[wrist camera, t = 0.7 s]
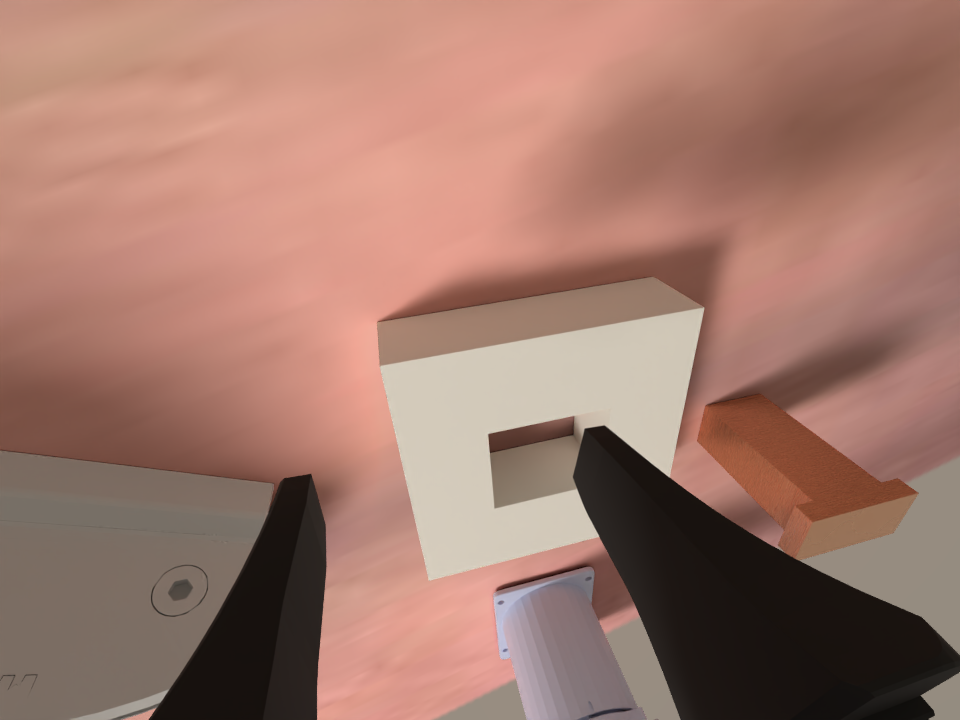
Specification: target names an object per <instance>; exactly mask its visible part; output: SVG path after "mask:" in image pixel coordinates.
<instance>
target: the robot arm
mask: <svg viewBox="0 0 960 720" xmlns="http://www.w3.org/2000/svg"><path fill="white" fill-rule="evenodd" d="M573 479H574V482H575V485H576V487H577V490H578V493H579V495H580V498H581V500H582V503H583V505H584V508H585V510H586V512H587V514H588V516H589V518H590V520H591V522H592V524H593V526H594V528H595V530H596V531H597V533H598V535H599V537H600V539H601V541H602V543H603V544H604V546H605V548H606V550H607V552H608V554H609V555H610V557H611V559H612V561H613V563H614V565H615V567H616V568H617V570H618V572H619V574H620V576H621V578H622V579H623V581H624V583H625V585H626V587H627V589H628V591H629V593H630V595H631V597H632V599H633V601H634V603H635V606H636V608H637V610H638V613H639V615H640V617H641V620H642V622H643V624H644V627H645V629H646V631H647V634H648V636H649V639H650V641H651V643H652V646H653V649H654V651H655V654H656V656H657V658H658V661H659V664H660V666H661V669H662V671H663V673H664V676H665V679H666V681H667V684H668V687H669V689H670V692H671V695H672V697H673V700H674V703H675V705H676V708H677V711H678V713H679V716H680V719H681V720H929V718H931V717H933V716H935V714H934V710H933V709H932V708H931V707H930V706H929V705H928V704H927V702H926V701H925V700H924V699H923V698H922V697H921V696H920V695H922V694H924V693H925V692H927V691H929V690H931V689H932V688H934V687H935V686H937V685H939V684H941V683H942V682H944V681H946V680H947V679H949V678H951V677H952V676H954V675H956V674H957V673H959V672H960V655H959V654H958V653H957V652H956V651H955V650H954V649H953V648H952V647H951V646H950V645H949V644H948V643H947V642H946V641H945V640H944V639H943V638H942V637H941V636H940V635H939V634H938V633H937V632H936V631H935V630H934V629H933V628H932V627H931V626H930V625H929V624H928V623H927V622H926V621H925V620H924V619H923V618H922V617H920V616H918V615H915V614H913V613H911V612H908V611H906V610H904V609H901V608H899V607H897V606H894V605H892V604H890V603H887V602H885V601H883V600H880V599H878V598H876V597H873V596H871V595H869V594H866V593H864V592H862V591H860V590H858V589H855V588H853V587H851V586H849V585H847V584H845V583H843V582H840V581H839V580H836V579H834V578H832V577H830V576H828V575H826V574H824V573H822V572H820V571H818V570H816V569H814V568H812V567H810V566H808V565H806V564H804V563H802V562H801V561H799V560H797V559H795V558H793V557H791V556H790V555H788V554H786V553H784V552H782V551H781V550H779V549H777V548H775V547H773V546H771V545H770V544H768V543H766V542H765V541H763V540H761V539H759V538H758V537H756V536H754V535H753V534H751V533H749V532H748V531H746V530H745V529H743V528H741V527H740V526H738V525H737V524H735V523H733V522H732V521H730V520H729V519H727V518H726V517H724V516H722V515H721V514H719V513H718V512H716V511H715V510H713V509H712V508H711V507H709V506H708V505H706V504H705V503H704V502H702V501H701V500H699V499H698V498H696V497H695V496H694V495H692V494H691V493H689V492H688V491H687V490H685V489H684V488H683V487H681V486H680V485H679V484H677V483H676V482H675V481H673V480H672V479H671V478H669V477H668V476H667V475H666V474H664V473H663V472H662V471H661V470H659V469H658V468H657V467H655V466H654V465H653V464H652V463H650V462H649V461H648V460H647V459H646V458H644V457H643V456H642V455H641V454H639V453H638V452H637V451H636V450H634V449H633V448H632V447H631V446H630V445H628V444H627V443H626V442H625V441H624V440H622V439H621V438H620V437H619V436H617V435H616V434H615V433H614V432H613V431H611V430H610V429H609V428H607V427H606V426H605V425H603V426H597V427H591V428H585V429H584V433H583V437H582V441H581V445H580V449H579V453H578V457H577V461H576V465H575V470H574V474H573ZM594 574H595V572H594V570H593V568H592V567H584V568H581V569H577V570H573V571H570V572H566V573H562V574H558V575H555V576H551V577H547V578H543V579H540V580H536V581H532V582H529V583H525V584H521V585H517V586H514V587H510V588H506V589H502V590H499V591H496V592H495V593H494V595H493V600H494V610H495V619H496V629H497V638H498V647H499V655H500V658H501V659H508V658H511V661H512V665H513V669H514V673H515V677H516V680H517V684H518V688H519V692H520V695H521V699H522V703H523V707H524V710H525V714H526V718H527V720H647V718H646V716H645V714H644V711H643V709H642V708H641V707H638V706H637V704H636V702H635V700H634V698H633V695H632V693H631V691H630V689H629V687H628V684H627V682H626V680H625V678H624V675H623V673H622V671H621V669H620V667H619V664H618V662H617V660H616V658H615V656H614V653H613V651H612V649H611V647H610V645H609V642H608V640H607V638H606V636H605V634H604V631H603V629H602V627H601V625H600V622H599V620H598V618H597V616H596V614H595V611H594V609H593V607H592V594H593V584H594ZM325 578H326V527H325V521H324V518H323V514H322V511H321V507H320V503H319V500H318V496H317V493H316V489H315V486H314V482H313V479H312V475H311V474H308V475H302V476H296V477H290V478H284V479H283V480H282V481H281V482H280V485H279V487H278V490H277V493H276V495H275V498H274V501H273V503H272V506H271V508H270V510H269V513H268V515H267V517H266V520H265V522H264V524H263V526H262V528H261V531H260V533H259V535H258V537H257V539H256V541H255V543H254V545H253V547H252V549H251V551H250V553H249V555H248V558H247V560H246V562H245V564H244V566H243V568H242V570H241V572H240V573H239V575H238V577H237V579H236V581H235V583H234V584H233V586H232V588H231V590H230V592H229V594H228V595H227V597H226V599H225V601H224V603H223V604H222V606H221V608H220V610H219V612H218V613H217V615H216V617H215V619H214V620H213V622H212V624H211V625H210V627H209V629H208V630H207V632H206V634H205V635H204V637H203V639H202V640H201V642H200V643H199V645H198V647H197V648H196V650H195V651H194V653H193V654H192V656H191V658H190V659H189V661H188V662H187V664H186V665H185V667H184V669H183V670H182V672H181V673H180V675H179V676H178V678H177V679H176V681H175V682H174V683H173V685H172V686H171V688H170V689H169V691H168V692H167V694H166V695H165V697H164V698H163V700H162V701H161V703H160V704H159V705H158V707H157V708H156V710H155V711H154V713H153V714H152V716H151V717H150V718H149V720H317V677H318V660H319V649H320V637H321V625H322V614H323V602H324V590H325ZM655 720H658V719H655Z"/></svg>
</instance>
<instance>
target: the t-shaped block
mask: <svg viewBox="0 0 960 720" xmlns="http://www.w3.org/2000/svg"><path fill="white" fill-rule="evenodd" d="M697 441H698V442H699V444H700V445H701V446H702V447H703V448H704V449H705V450H706V451H707V452H708V453H709V454H710V455H711V456H712V457H713V458H714V459H715V460H716V461H717V462H718V463H719V464H720V465H721V466H722V467H723V468H724V469H725V470H726V471H727V472H728V473H729V474H730V475H731V476H732V477H733V478H734V479H735V480H736V481H737V482H738V483H739V484H740V485H741V486H742V487H743V488H744V489H745V490H746V491H747V492H748V493H749V494H750V495H751V496H752V497H753V498H754V499H755V501H756V502H757V503H758V504H759V505H760V506H761V507H762V508H763V509H764V510H765V511H766V512H767V513H768V514H769V515H770V516H771V517H772V518H773V519H774V520H775V521H776V522H777V523H778V524H779V525H780V526H781V527H782V528H783V529H784V532H783V534H782V537H781V539H780V541H779V544H778V546H779V547H780V548H781V549H782V550H783V551H784V552H785V553H786V554H788V555H790V556H791V557H793V558H795V559H797V560H802V559H805V558H809V557H812V556H816V555H819V554H823V553H826V552H829V551H833V550H837V549H840V548H844V547H847V546H850V545H854V544H858V543H861V542H864V541H868V540H871V539H875V538H878V537H882V536H885V535H889V534H892V533H894V531H895V530H896V528H897V527H898V525H899V523H900V522H901V520H902V519H903V517H904V516H905V514H906V512H907V511H908V509H909V508H910V506H911V505H912V503H913V501H914V500H915V498H916V497H917V495H918V492H916V491H915V490H914V489H912V488H911V487H909V486H908V485H906V484H905V483H904V482H902V481H901V480H899V479H898V478H897V479H893V480H890V481H886V482H882V483H881V482H880V481H878V480H877V479H875V478H874V477H873V476H871V475H870V474H869V473H867V472H866V471H865V470H863V469H862V468H861V467H859V466H858V465H856V464H855V463H854V462H852V461H851V460H850V459H848V458H847V457H846V456H844V455H843V454H842V453H840V452H839V451H837V450H836V449H835V448H833V447H832V446H831V445H829V444H828V443H827V442H825V441H824V440H822V439H821V438H820V437H818V436H817V435H816V434H814V433H813V432H812V431H810V430H809V429H808V428H806V427H805V426H803V425H802V424H801V423H799V422H798V421H797V420H795V419H794V418H793V417H791V416H790V415H789V414H787V413H786V412H784V411H783V410H782V409H780V408H779V407H778V406H776V405H775V404H774V403H772V402H771V401H770V400H768V399H767V398H765V397H764V396H763V395H761V394H757V395H752V396H747V397H743V398H738V399H734V400H729V401H725V402H720V403H715V404H711V405H706V406H705V410H704V414H703V418H702V423H701V427H700V431H699V435H698V439H697Z"/></svg>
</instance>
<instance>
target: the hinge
mask: <svg viewBox="0 0 960 720" xmlns="http://www.w3.org/2000/svg"><path fill="white" fill-rule="evenodd" d="M273 491H274V483H265V482H257V481H249V480H241V479H232V478H224V477H216V476H208V475H200V474H191V473H183V472H175V471H167V470H158V469H150V468H142V467H134V466H125V465H117V464H109V463H101V462H93V461H84V460H76V459H68V458H60V457H51V456H43V455H35V454H27V453H19V452H10V451H2V450H0V720H122V719H125V718H129V717H132V716H136V715H139V714H142V713H144V712H147V711H149V710H152V709H155V708H157V707H158V705H159V704H160V703H161V701H162V700H163V698H164V697H165V695H166V694H167V692H168V691H169V689H170V688H171V686H172V685H173V683H174V682H175V681H176V679H177V678H178V676H179V675H180V673H181V672H182V670H183V669H184V667H185V665H186V664H187V662H188V661H189V659H190V658H191V656H192V654H193V653H194V651H195V650H196V648H197V647H198V645H199V643H200V642H201V640H202V639H203V637H204V635H205V634H206V632H207V630H208V629H209V627H210V625H211V624H212V622H213V620H214V619H215V617H216V615H217V613H218V612H219V610H220V608H221V606H222V604H223V603H224V601H225V599H226V597H227V595H228V594H229V592H230V590H231V588H232V586H233V584H234V583H235V581H236V579H237V577H238V575H239V573H240V572H241V570H242V568H243V566H244V564H245V562H246V560H247V558H248V555H249V553H250V551H251V549H252V547H253V545H254V543H255V541H256V539H257V537H258V535H259V533H260V531H261V528H262V526H263V524H264V522H265V520H266V517H267V515H268V512H269V508H270V503H271V499H272V495H273Z"/></svg>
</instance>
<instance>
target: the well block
mask: <svg viewBox="0 0 960 720" xmlns="http://www.w3.org/2000/svg"><path fill="white" fill-rule="evenodd" d="M704 308H705V307H703V306H701V305H700V304H698V303H696V302H695V301H693V300H691V299H690V298H688V297H686V296H685V295H683V294H681V293H680V292H678V291H677V290H675V289H673V288H672V287H670V286H668V285H667V284H665V283H663V282H662V281H660V280H658V279H657V278H655V277H648V278H642V279H636V280H630V281H624V282H618V283H612V284H606V285H600V286H594V287H588V288H582V289H576V290H570V291H564V292H558V293H551V294H545V295H539V296H533V297H527V298H521V299H515V300H509V301H503V302H497V303H491V304H485V305H479V306H473V307H467V308H461V309H455V310H449V311H443V312H437V313H431V314H425V315H418V316H412V317H406V318H400V319H394V320H388V321H382V322H377V331H378V347H379V363H380V370H381V374H382V378H383V383H384V387H385V391H386V396H387V400H388V404H389V409H390V413H391V417H392V422H393V426H394V430H395V435H396V439H397V443H398V448H399V452H400V456H401V461H402V465H403V470H404V474H405V478H406V483H407V487H408V491H409V496H410V500H411V504H412V509H413V513H414V517H415V522H416V526H417V530H418V535H419V539H420V543H421V548H422V552H423V556H424V561H425V565H426V569H427V574H428V578H429V581H430V580H434V579H438V578H441V577H445V576H449V575H453V574H457V573H461V572H465V571H469V570H472V569H476V568H480V567H484V566H488V565H492V564H496V563H500V562H503V561H507V560H511V559H515V558H519V557H523V556H527V555H531V554H534V553H538V552H542V551H546V550H550V549H554V548H558V547H562V546H565V545H569V544H573V543H577V542H581V541H585V540H589V539H593V538H596V537H599V535H598V533H597V531H596V530H595V528H594V526H593V524H592V522H591V520H590V518H589V516H588V514H587V512H586V510H585V508H584V505H583V503H582V500H581V498H580V495H579V493H578V490H577V487H576V485H575V482H574V479H573V474H574V470H575V465H576V461H577V457H578V453H579V449H580V445H581V441H582V437H583V433H584V429H585V428H591V427H597V426H603V425H605V426H606V427H607V428H609V429H610V430H611V431H613V432H614V433H615V434H616V435H617V436H619V437H620V438H621V439H622V440H624V441H625V442H626V443H627V444H628V445H630V446H631V447H632V448H633V449H634V450H636V451H637V452H638V453H639V454H641V455H642V456H643V457H644V458H646V459H647V460H648V461H649V462H650V463H652V464H653V465H654V466H655V467H657V468H658V469H659V470H661V471H662V472H663V473H664V474H666V475H667V476H668V477H670V473H671V468H672V463H673V458H674V453H675V448H676V443H677V439H678V434H679V429H680V424H681V419H682V414H683V410H684V405H685V400H686V395H687V390H688V385H689V380H690V376H691V371H692V366H693V361H694V356H695V351H696V347H697V342H698V337H699V332H700V327H701V322H702V317H703V313H704ZM571 416H574V435H570V436H566V437H561V438H557V439H552V440H548V441H543V442H538V443H534V444H529V445H525V446H520V447H515V448H511V449H506V450H502V451H497V452H493V453H490V451H489V440H488V434H490V433H495V432H500V431H504V430H509V429H514V428H519V427H523V426H528V425H533V424H538V423H542V422H547V421H552V420H556V419H561V418H566V417H571Z"/></svg>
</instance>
